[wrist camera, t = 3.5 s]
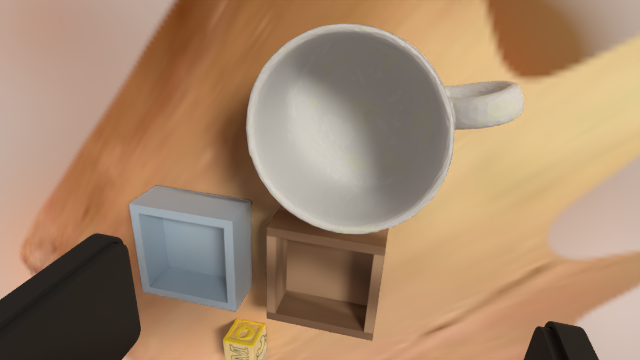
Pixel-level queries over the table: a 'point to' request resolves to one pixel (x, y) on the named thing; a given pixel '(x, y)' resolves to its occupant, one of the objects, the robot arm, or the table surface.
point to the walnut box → (323, 276)
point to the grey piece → (361, 126)
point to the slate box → (193, 246)
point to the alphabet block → (245, 341)
